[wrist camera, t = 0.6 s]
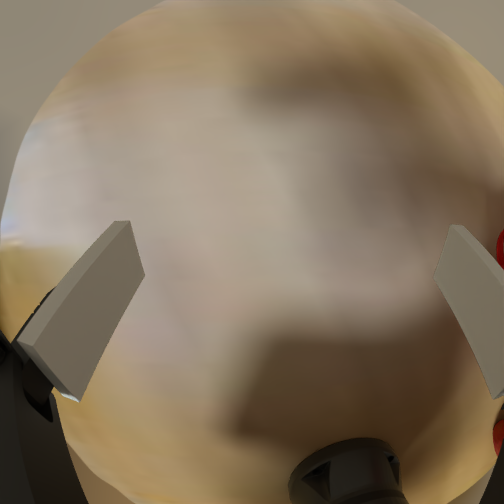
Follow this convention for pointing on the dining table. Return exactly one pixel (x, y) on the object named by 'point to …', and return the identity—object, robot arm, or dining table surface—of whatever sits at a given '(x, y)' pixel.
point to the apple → (498, 436)
